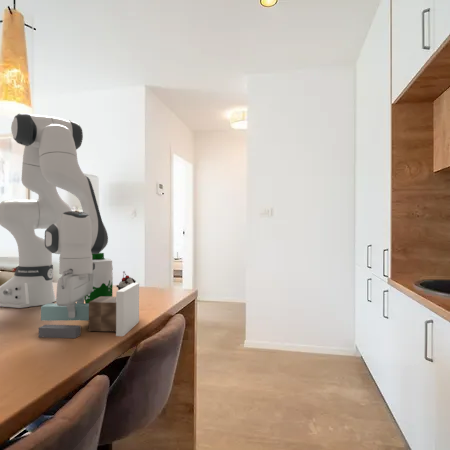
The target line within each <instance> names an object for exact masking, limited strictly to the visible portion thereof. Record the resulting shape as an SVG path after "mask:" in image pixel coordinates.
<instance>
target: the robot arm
mask: <svg viewBox="0 0 450 450" xmlns="http://www.w3.org/2000/svg"><path fill="white" fill-rule="evenodd" d="M10 128H11V130H10V131H11V134H12V138H13V140H14V141H15V142H16V143H17V144H19V145H22V146H24V149H23V155H22V165H21V166H22V167H21V180H20V181H21V183H22V185H23V186H24V187H25V188H26V189H27V190H29V191H31V192H33V193H35V194H37V195H38V199H22V198H21V199H19V198H16V199H8V200H3V201H1V202H0V226H1V227H2V228H4V229H6V230H7V231H8V232H9V233H10V234H11V235H12V236H13V238H14V240H15V242H16V244H17V251H18V266H16V267H13V268H12V270H11V272H12V273H13V272H14V274H13V275H14V276H12V277H10V278H9V279H8V280H6V282H4V283H3V284H1V285H0V307H5V308H13V309H14V308H16V309H24V308H28V307H29V308H30V307H37V306H43V305H45V304H48V303H55V302H56V303H57V305H58V306H66V307H67V310H68V317H69V318H74V317H76V315H77V314H76V313H77V310H76V309H75V305H76V303H85V296H86V295H88V294H89V293H91V292H92V289H93V279H94V272H93V270H95V263H94V262H93V260H92V254H98V253H102V251H103V250H104V249H105V248H106V247H107V245H108V242H109V237H108V236H109V234H108V232H107V229H106V226H105V224H104V222H103V220H102V219H103V218H102V216H101V212H100V209H99V205H98V201H97V197H96V194H95V190H94V187H93V185H92V181H91V179H90V178H89V177H88V176H87V175H85V173H84V172H83V171H82V168H81V167H80V165H79V162H78V153H77V150H78V149H79V148H81V146H82V143H83V139H84V132H83V128H82V127H81V126H80V124H79V123H77V122H75V121H73V120H70V119H69V120H66V119H64V118H60V117H56V116H53V115H52V116H51V115H49V116H48V115H41V114H30V113H23V112H22V113H17V114H16V115H15V116H14V117H13V120H12V122H11V127H10ZM57 188H59V189H62V190H64V191H65V192H68V193H70V194H72V195H73V196H75V197H76V198H77V199H78V200H79V202H80V204H81V209H82V211H76V210H75V211H74V210H73V211H72V208H71V207H70V205H69V204H68V203H67V202H65V200H63V199H62V198H61V196H60V195H59V192H58V190H57ZM41 229H43V230H45V231H44V238H42V237H39V236H38V235H37V234H36V233H35V230H41ZM53 254H56V255H59V259H58V260H59V266H58V267H59V269H58V270H59V275H61V276H60V277H59V278H58V280H57V285H56V295H55V291H54V282H53V278H54V264H53V263H52V261H53Z"/></svg>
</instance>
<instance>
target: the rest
mask: <svg viewBox="0 0 450 450" xmlns="http://www.w3.org/2000/svg"><path fill="white" fill-rule="evenodd" d="M81 331H82V327H81V325H80V324H79V325H74V324H72V325H71V324H68V325H67V324H44V325H42V326H40V327H38V338H52V339H54V338H55V339H57V338H58V339H59V338H60V339H76V338H78V337H79V336H81V333H82V332H81Z"/></svg>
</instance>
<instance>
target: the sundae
mask: <svg viewBox="0 0 450 450" xmlns="http://www.w3.org/2000/svg"><path fill="white" fill-rule="evenodd" d="M122 273H123V274H122V278H121V281H120V282H119V283H118V284H117V285H115V287H116V288H117V291H118V290H120V289H122V288H124V287H126V286H128V285H130V284H132V283H137V281H136V280H135V279H134V278H133V277H130V276H129V275H127V274H126V271H125V270H124V271H122ZM124 276H125V277H124Z"/></svg>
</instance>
